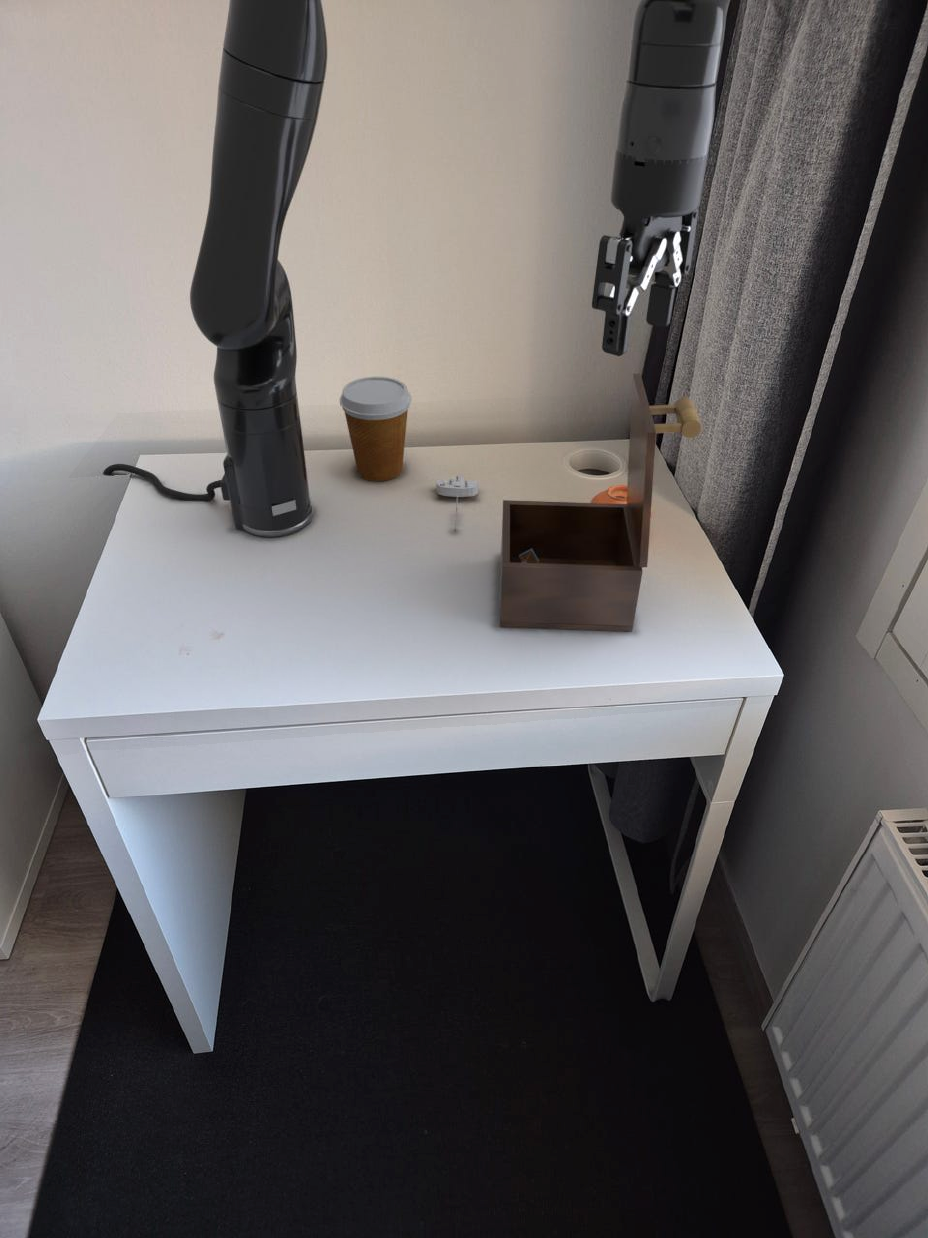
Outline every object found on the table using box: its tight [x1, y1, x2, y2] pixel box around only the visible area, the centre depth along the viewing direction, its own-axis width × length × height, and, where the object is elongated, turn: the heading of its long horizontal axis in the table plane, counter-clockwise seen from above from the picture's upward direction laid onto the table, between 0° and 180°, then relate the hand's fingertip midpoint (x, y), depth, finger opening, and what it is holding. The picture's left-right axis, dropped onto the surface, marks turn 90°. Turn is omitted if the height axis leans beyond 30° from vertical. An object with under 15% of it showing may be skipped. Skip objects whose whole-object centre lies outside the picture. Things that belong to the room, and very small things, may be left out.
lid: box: [626, 372, 703, 568], centre depth 90 cm, size 15×13×6 cm
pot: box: [589, 484, 653, 518], centre depth 108 cm, size 8×8×7 cm
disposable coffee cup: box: [339, 376, 412, 482], centre depth 118 cm, size 10×10×12 cm
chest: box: [498, 499, 644, 632], centre depth 98 cm, size 15×13×8 cm
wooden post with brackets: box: [519, 549, 539, 563], centre depth 99 cm, size 2×8×4 cm
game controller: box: [436, 475, 480, 533], centre depth 114 cm, size 6×12×3 cm, turn 16°
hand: (636, 338), depth 81 cm, fingers open, 8 cm apart
